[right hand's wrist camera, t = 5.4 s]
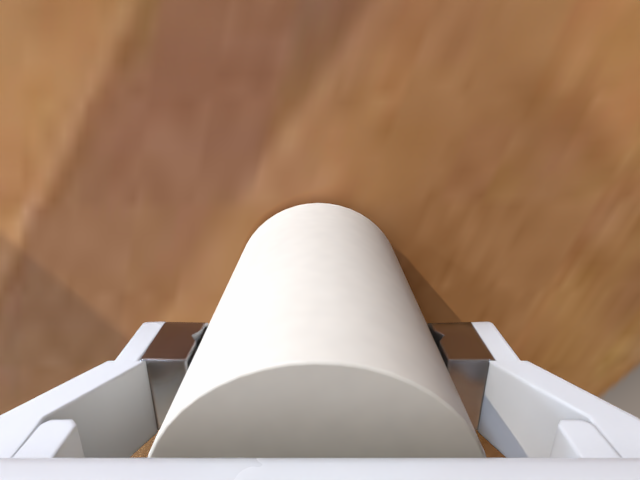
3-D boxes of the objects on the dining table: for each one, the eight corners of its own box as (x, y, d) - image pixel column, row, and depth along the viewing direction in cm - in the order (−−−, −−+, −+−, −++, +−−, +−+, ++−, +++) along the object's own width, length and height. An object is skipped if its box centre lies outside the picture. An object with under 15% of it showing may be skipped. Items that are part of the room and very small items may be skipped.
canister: (267, 361, 15) (215, 637, 7) (216, 227, 13) (79, 411, 6) (412, 326, 14) (512, 586, 7) (378, 183, 13) (462, 320, 5)
